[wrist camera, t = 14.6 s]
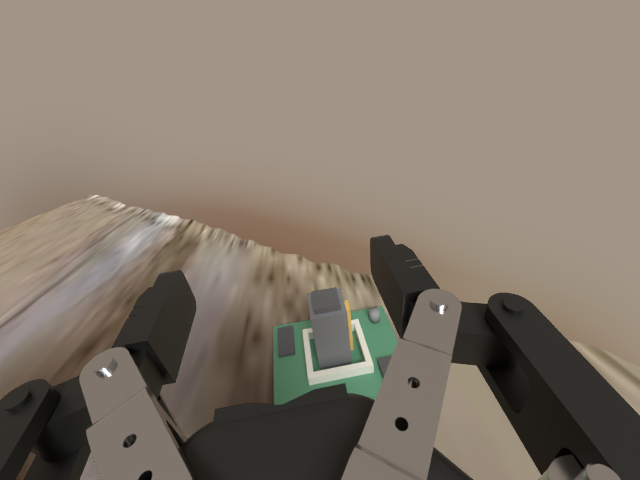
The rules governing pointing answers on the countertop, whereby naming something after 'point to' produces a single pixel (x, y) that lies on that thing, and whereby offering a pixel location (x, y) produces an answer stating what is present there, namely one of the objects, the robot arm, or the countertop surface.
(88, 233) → the countertop surface
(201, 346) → the countertop surface
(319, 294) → the plug
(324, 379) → the mount board
